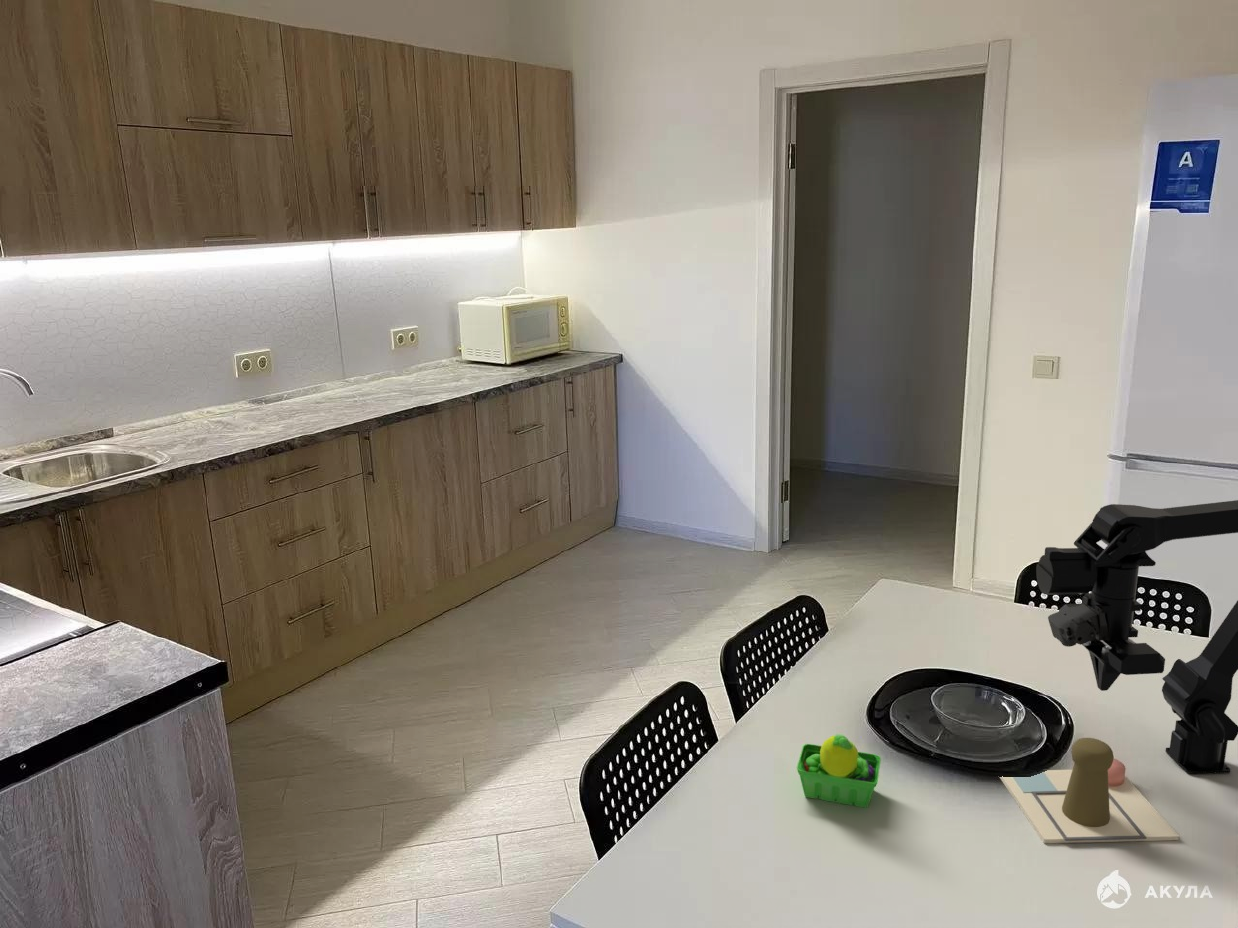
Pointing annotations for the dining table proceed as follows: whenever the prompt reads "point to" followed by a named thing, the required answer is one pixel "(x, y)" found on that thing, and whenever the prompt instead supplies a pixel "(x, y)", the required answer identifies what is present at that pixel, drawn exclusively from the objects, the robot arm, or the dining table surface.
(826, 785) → the fruit basket
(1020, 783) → the colouring board
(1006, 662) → the dining table surface
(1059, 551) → the robot arm
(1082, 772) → the cork
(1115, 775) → the button
